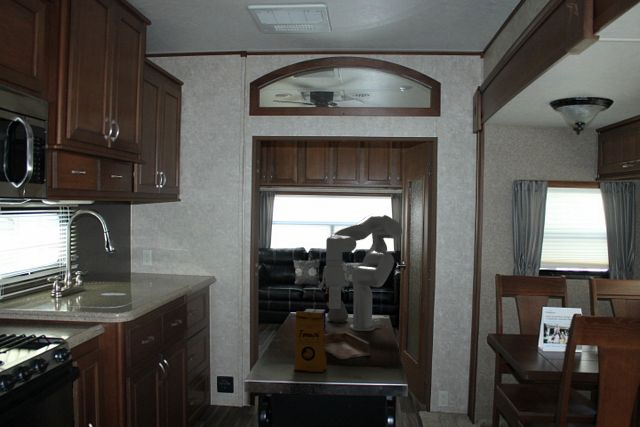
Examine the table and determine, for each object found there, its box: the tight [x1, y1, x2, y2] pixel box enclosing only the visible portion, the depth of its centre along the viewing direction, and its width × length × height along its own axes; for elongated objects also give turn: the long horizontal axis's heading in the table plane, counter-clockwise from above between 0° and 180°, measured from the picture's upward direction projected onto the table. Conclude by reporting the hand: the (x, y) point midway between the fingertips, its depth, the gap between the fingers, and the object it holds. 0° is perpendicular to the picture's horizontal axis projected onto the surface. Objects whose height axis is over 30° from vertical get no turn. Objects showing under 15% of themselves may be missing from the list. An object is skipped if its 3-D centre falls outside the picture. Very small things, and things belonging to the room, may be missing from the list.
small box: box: [326, 285, 341, 310], centre depth 224 cm, size 8×6×10 cm
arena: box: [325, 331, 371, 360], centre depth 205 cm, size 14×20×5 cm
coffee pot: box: [309, 291, 349, 323], centre depth 260 cm, size 21×12×15 cm, turn 76°
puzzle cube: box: [303, 308, 327, 331], centre depth 237 cm, size 10×10×10 cm
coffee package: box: [293, 311, 328, 373], centre depth 181 cm, size 10×12×22 cm
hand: (333, 300), depth 225 cm, fingers closed on small box, 7 cm apart
